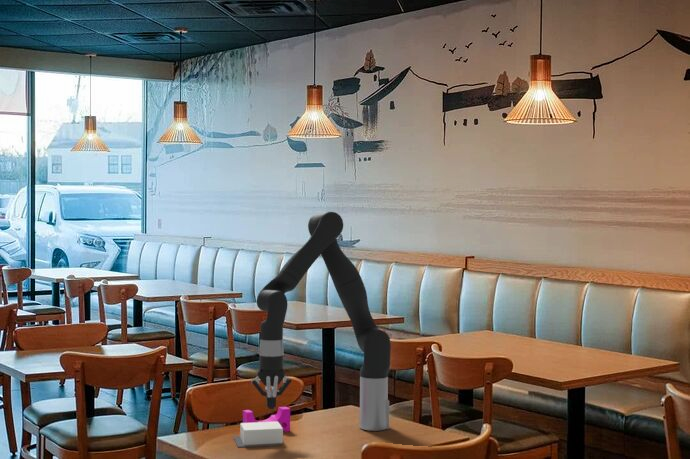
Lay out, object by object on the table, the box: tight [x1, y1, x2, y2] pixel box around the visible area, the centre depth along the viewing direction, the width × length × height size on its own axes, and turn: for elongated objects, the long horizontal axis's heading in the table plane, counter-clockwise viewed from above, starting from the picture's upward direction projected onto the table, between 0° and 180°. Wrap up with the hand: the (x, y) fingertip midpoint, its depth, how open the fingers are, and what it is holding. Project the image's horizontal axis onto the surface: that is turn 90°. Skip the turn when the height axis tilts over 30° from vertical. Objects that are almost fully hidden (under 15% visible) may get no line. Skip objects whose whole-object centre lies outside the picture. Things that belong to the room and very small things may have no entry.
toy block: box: [242, 406, 291, 432], centre depth 296 cm, size 15×6×8 cm, turn 115°
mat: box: [232, 435, 283, 448], centre depth 282 cm, size 13×13×1 cm
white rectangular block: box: [239, 421, 284, 445], centre depth 283 cm, size 4×10×12 cm
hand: (271, 408), depth 283 cm, fingers closed
